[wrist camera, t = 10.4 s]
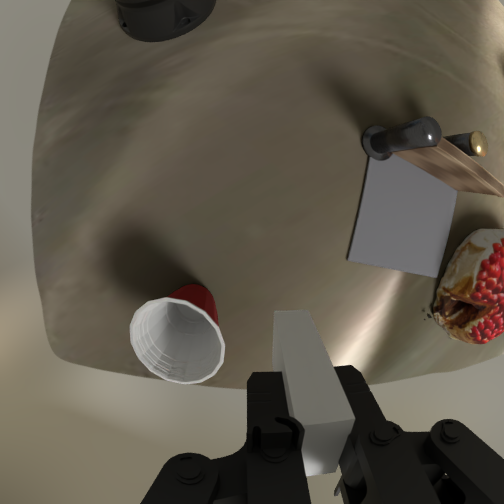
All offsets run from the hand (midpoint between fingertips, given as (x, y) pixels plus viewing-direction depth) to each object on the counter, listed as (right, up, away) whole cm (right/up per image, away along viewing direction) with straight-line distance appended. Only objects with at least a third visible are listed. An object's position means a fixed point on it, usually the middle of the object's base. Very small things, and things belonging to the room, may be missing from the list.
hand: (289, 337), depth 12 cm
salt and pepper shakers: (+20, +19, +22) cm, 36 cm away
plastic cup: (-10, -3, +28) cm, 29 cm away
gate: (+24, +16, +22) cm, 36 cm away
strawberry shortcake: (+40, -3, +29) cm, 49 cm away
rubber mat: (+21, +9, +25) cm, 34 cm away
